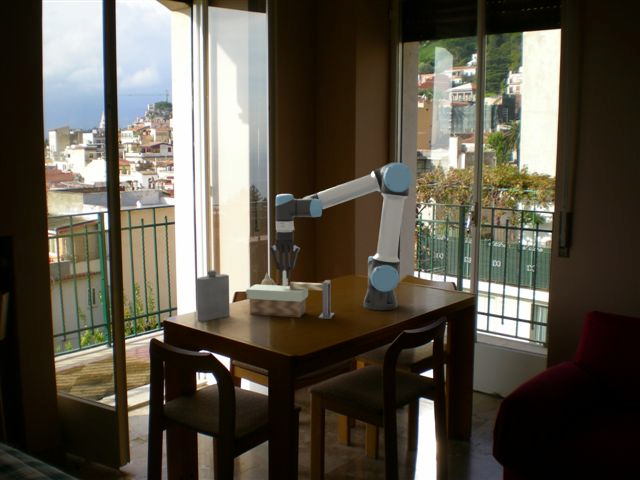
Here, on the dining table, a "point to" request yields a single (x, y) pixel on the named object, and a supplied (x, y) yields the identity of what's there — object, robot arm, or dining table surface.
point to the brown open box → (277, 307)
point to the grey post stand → (326, 300)
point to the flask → (212, 296)
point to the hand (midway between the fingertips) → (285, 285)
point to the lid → (276, 293)
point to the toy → (267, 281)
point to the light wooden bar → (306, 286)
